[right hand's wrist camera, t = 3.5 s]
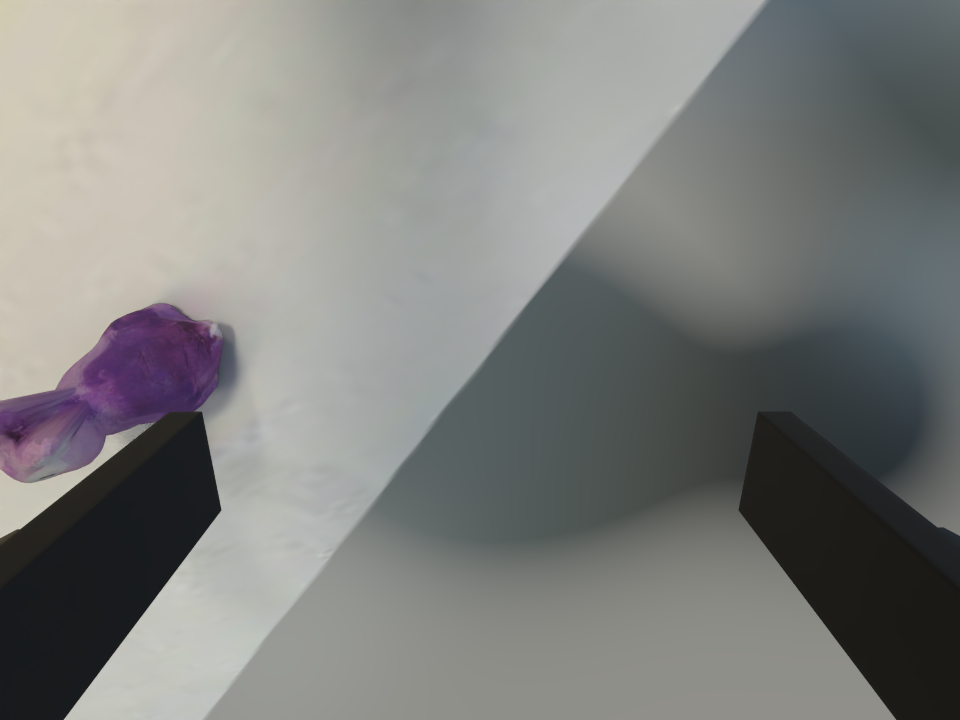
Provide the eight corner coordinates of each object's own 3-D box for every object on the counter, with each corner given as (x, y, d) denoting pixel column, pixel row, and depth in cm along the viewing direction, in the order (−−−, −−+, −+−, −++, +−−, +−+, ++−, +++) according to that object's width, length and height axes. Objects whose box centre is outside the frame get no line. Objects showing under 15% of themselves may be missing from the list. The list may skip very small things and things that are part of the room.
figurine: (107, 408, 43) (-75, 527, 29) (106, 287, 40) (-101, 354, 25) (225, 432, 44) (104, 559, 30) (234, 315, 40) (102, 395, 26)
